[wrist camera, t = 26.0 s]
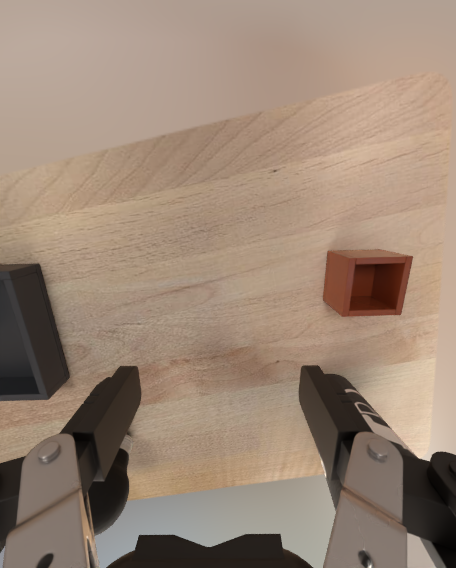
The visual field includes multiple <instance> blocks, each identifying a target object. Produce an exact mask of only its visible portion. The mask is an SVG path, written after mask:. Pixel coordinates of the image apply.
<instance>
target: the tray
mask: <svg viewBox="0 0 456 568" xmlns="http://www.w3.org/2000/svg"><path fill="white" fill-rule="evenodd" d="M69 378H70V377H69V373H68V369H67V366H66V362H65V358H64V355H63V351H62V347H61V343H60V340H59V336H58V332H57V328H56V325H55V321H54V317H53V314H52V310H51V306H50V302H49V299H48V295H47V291H46V288H45V284H44V280H43V276H42V273H41V269H40V265H39V264H9V265H0V401H16V400H48V399H50V398H51V397H52V395H53V394H54V393H55V392H56V391H57V390H58V389H59V388H60V387H61V386H62V385H63V384H64V383H65V382H66V381H67V380H68V379H69Z"/></svg>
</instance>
